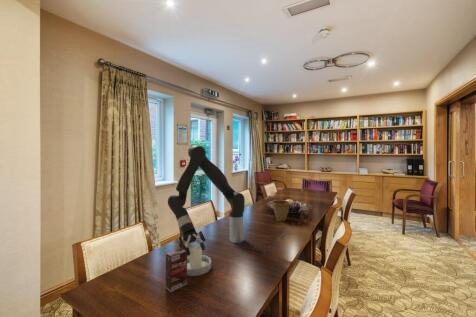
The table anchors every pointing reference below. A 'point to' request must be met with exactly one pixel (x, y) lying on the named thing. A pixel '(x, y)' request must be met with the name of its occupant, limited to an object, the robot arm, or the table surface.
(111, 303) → the table surface
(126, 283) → the table surface
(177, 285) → the supplement box
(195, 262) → the cream rectangular block
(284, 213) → the plant pot
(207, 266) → the round tray
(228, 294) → the table surface
